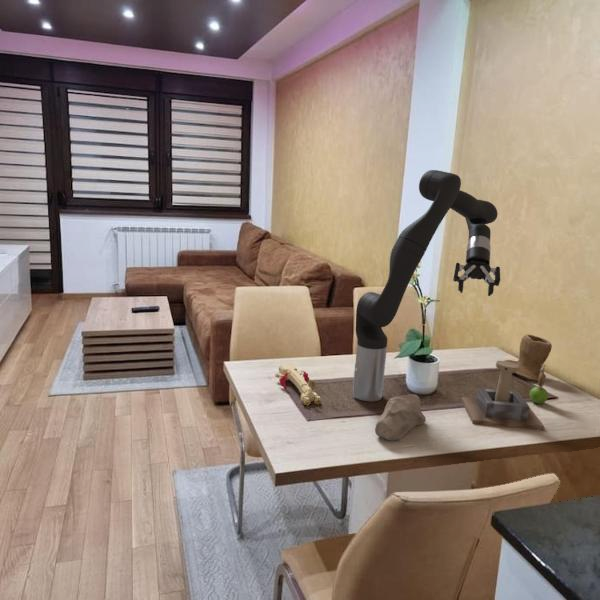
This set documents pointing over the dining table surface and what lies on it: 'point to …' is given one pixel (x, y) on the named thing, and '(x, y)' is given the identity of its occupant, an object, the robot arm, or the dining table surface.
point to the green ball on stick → (539, 390)
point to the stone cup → (532, 356)
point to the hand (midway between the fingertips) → (475, 293)
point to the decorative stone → (399, 417)
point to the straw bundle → (299, 383)
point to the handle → (505, 380)
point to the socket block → (501, 410)
